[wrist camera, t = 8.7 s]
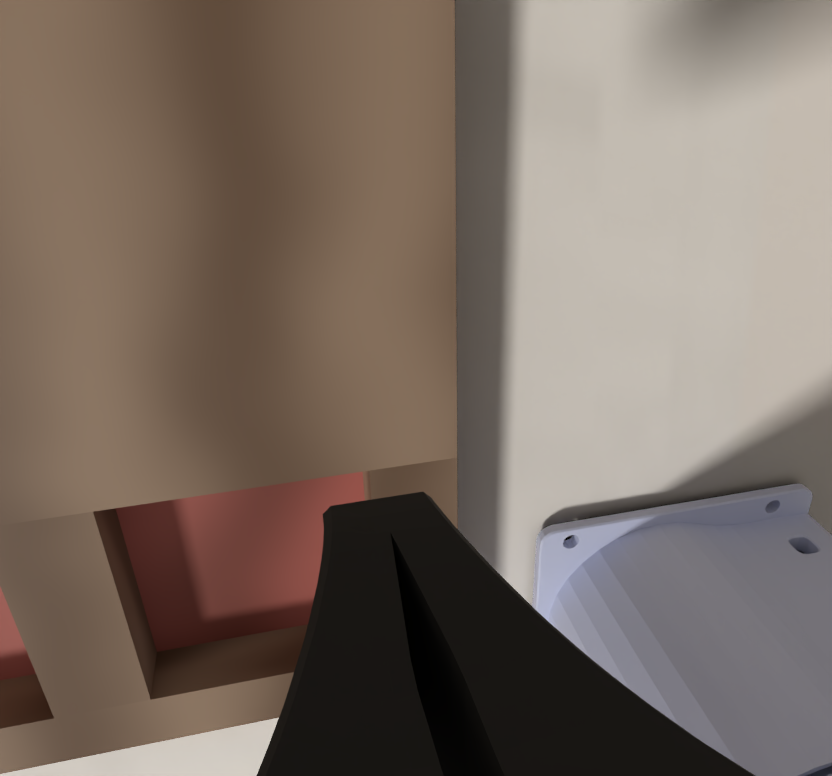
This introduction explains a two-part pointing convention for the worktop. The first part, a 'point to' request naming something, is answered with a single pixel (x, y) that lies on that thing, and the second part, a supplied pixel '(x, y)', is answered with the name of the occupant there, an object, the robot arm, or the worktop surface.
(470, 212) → the worktop surface
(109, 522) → the trap deck
